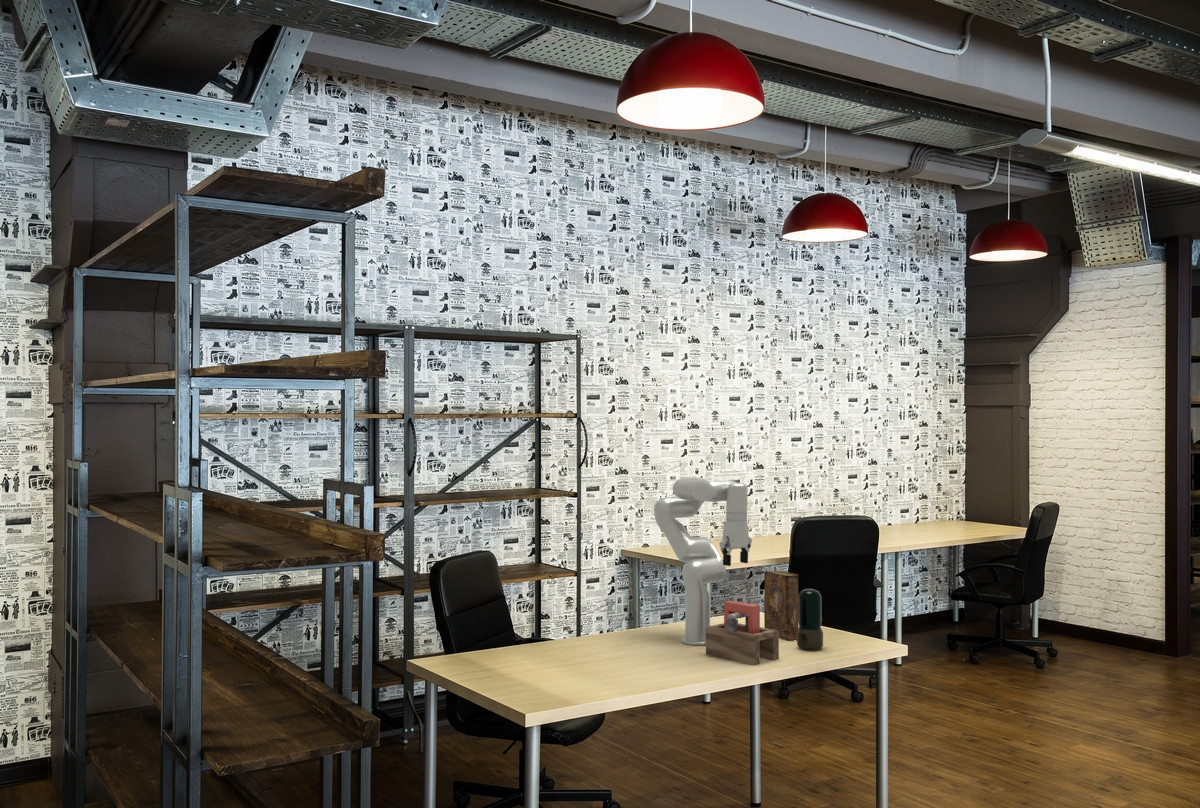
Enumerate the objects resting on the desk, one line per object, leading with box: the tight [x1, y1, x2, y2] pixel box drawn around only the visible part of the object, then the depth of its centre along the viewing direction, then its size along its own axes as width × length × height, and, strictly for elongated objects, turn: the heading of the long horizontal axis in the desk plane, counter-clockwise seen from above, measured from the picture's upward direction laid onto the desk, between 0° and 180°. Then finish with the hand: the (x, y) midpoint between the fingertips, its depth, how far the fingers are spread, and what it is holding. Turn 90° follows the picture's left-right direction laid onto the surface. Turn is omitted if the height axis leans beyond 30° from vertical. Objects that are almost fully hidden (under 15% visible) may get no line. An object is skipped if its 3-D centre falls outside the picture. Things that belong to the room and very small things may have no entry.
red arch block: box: [723, 600, 761, 634], centre depth 357 cm, size 4×13×13 cm, turn 44°
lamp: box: [796, 588, 824, 651], centre depth 371 cm, size 10×10×22 cm
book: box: [763, 569, 799, 642], centre depth 392 cm, size 16×6×25 cm, turn 25°
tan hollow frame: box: [705, 612, 780, 666], centre depth 357 cm, size 14×22×16 cm, turn 43°
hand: (735, 564), depth 362 cm, fingers open, 9 cm apart
